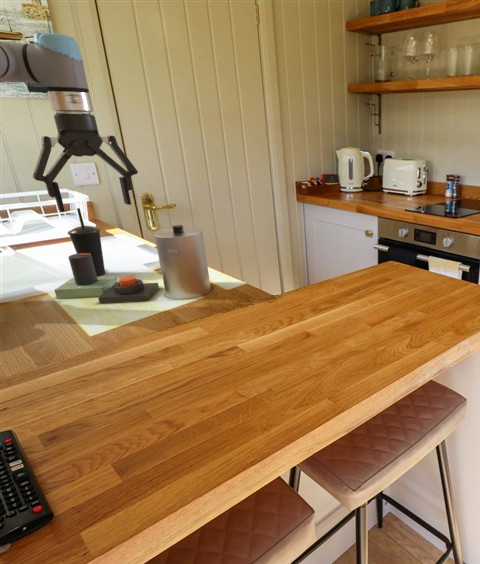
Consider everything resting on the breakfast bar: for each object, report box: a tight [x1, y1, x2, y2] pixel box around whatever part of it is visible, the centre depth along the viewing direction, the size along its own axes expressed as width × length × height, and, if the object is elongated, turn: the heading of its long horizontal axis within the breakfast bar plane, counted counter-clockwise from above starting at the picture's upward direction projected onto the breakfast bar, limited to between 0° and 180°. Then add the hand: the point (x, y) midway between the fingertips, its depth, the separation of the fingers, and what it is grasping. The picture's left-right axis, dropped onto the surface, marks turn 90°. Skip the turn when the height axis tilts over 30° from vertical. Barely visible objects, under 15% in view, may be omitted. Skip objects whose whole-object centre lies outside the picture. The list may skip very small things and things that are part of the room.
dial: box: [68, 253, 98, 285], centre depth 111 cm, size 5×5×8 cm
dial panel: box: [54, 275, 119, 300], centre depth 113 cm, size 11×9×3 cm
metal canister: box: [153, 224, 212, 300], centre depth 111 cm, size 14×11×19 cm
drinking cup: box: [67, 207, 106, 277], centre depth 123 cm, size 8×8×20 cm
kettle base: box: [97, 278, 160, 304], centre depth 111 cm, size 11×9×4 cm
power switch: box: [118, 275, 136, 286], centre depth 110 cm, size 4×4×2 cm
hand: (96, 207), depth 103 cm, fingers open, 13 cm apart
